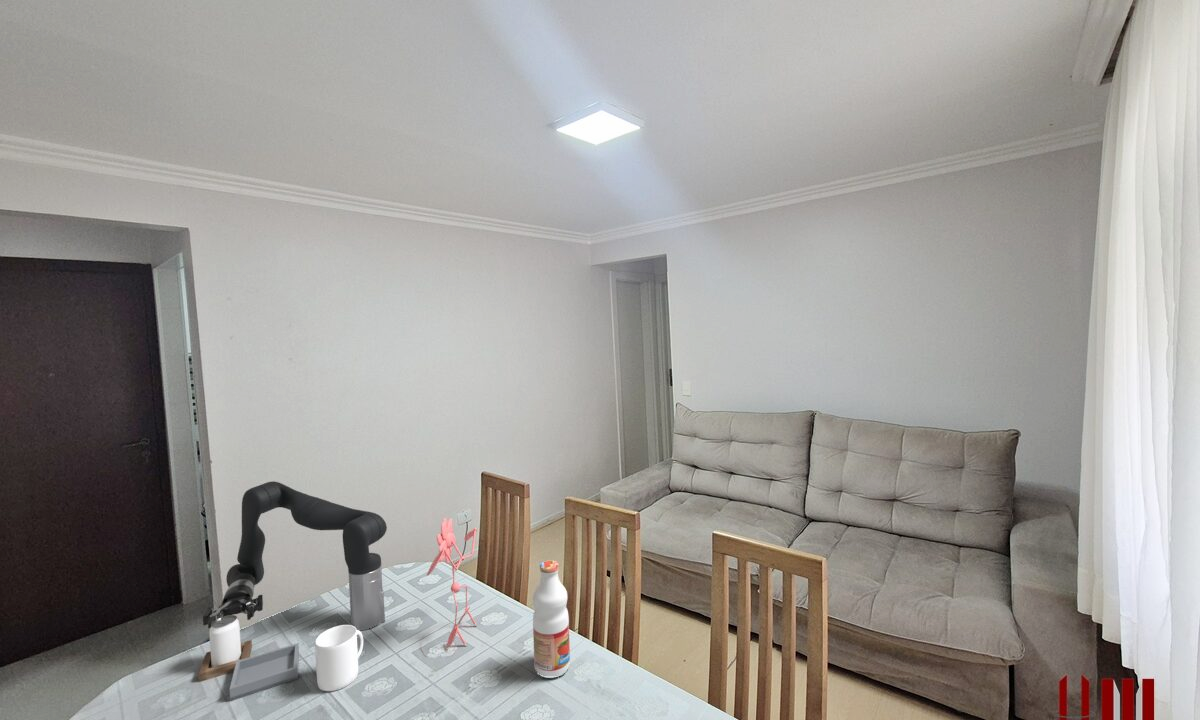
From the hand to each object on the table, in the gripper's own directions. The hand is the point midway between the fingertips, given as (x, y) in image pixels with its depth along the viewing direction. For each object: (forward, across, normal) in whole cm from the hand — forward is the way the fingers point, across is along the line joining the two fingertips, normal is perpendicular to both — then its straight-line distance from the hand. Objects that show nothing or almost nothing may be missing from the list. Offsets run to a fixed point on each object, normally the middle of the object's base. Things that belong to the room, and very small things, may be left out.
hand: (230, 621), depth 139 cm
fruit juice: (+59, +75, +8) cm, 96 cm away
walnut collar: (+9, 0, +7) cm, 12 cm away
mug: (+32, +27, +8) cm, 42 cm away
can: (+9, 0, +7) cm, 12 cm away
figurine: (+30, +55, +8) cm, 63 cm away
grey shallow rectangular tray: (+21, +10, +7) cm, 24 cm away
